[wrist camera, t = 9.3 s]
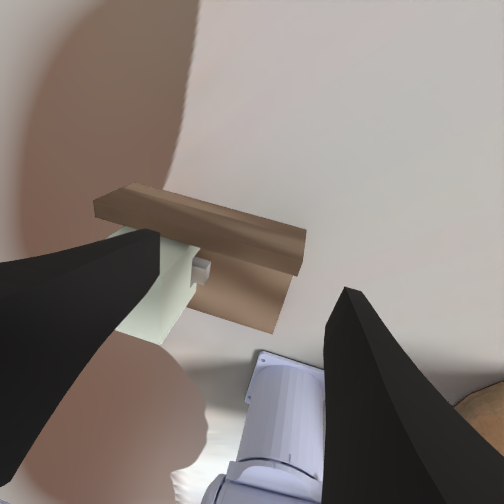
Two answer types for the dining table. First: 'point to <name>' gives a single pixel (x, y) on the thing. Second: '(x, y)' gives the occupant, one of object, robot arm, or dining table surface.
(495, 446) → the pottery
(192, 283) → the sage block
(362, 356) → the robot arm
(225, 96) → the dining table surface
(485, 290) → the dining table surface
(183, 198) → the cleat board
